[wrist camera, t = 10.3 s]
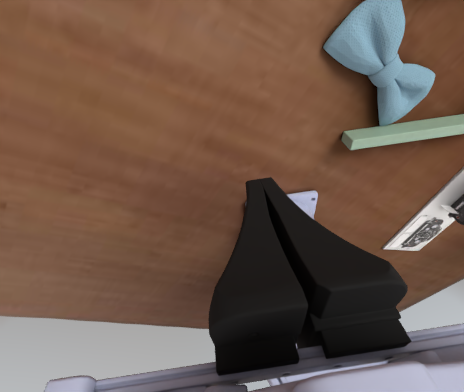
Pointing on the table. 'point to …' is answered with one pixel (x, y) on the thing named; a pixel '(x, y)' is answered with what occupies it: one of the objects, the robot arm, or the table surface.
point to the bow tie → (381, 56)
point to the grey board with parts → (432, 217)
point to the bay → (404, 132)
